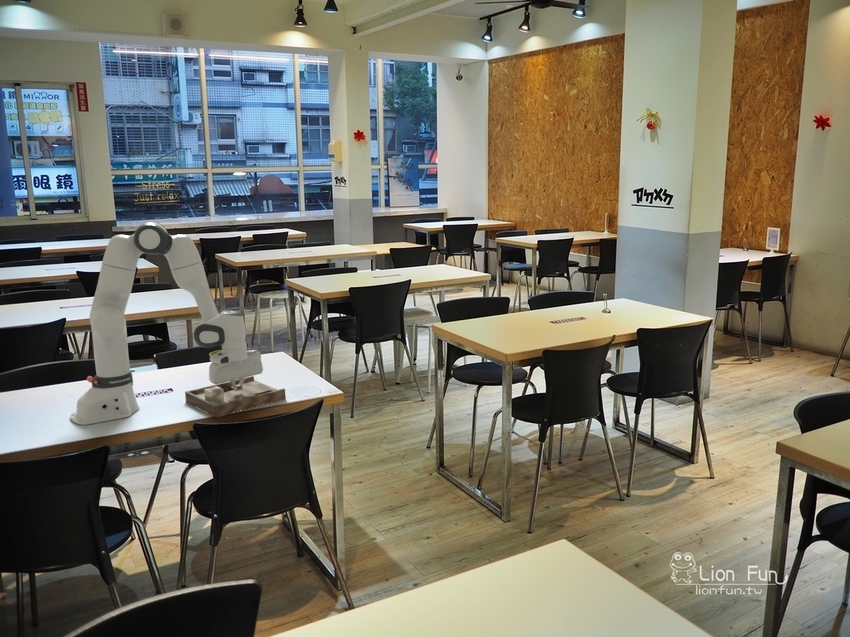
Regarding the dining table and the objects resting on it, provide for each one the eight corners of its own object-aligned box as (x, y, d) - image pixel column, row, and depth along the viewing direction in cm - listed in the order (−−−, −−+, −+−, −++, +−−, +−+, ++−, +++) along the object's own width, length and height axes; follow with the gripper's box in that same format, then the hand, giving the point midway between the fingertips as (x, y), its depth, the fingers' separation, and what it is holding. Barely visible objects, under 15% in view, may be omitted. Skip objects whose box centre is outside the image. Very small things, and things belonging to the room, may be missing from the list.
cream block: (211, 402, 260) (210, 392, 259) (205, 399, 264) (204, 389, 263) (224, 399, 263) (223, 389, 262) (217, 396, 267) (216, 386, 266)
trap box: (216, 417, 252) (215, 406, 251) (186, 402, 269) (185, 391, 269) (285, 399, 270) (284, 388, 270) (253, 385, 288) (252, 375, 287)
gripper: (256, 347, 276) (258, 382, 279) (205, 358, 262) (209, 394, 265) (264, 350, 271) (267, 385, 274) (213, 361, 258) (216, 398, 261)
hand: (238, 390), depth 270 cm, fingers closed
